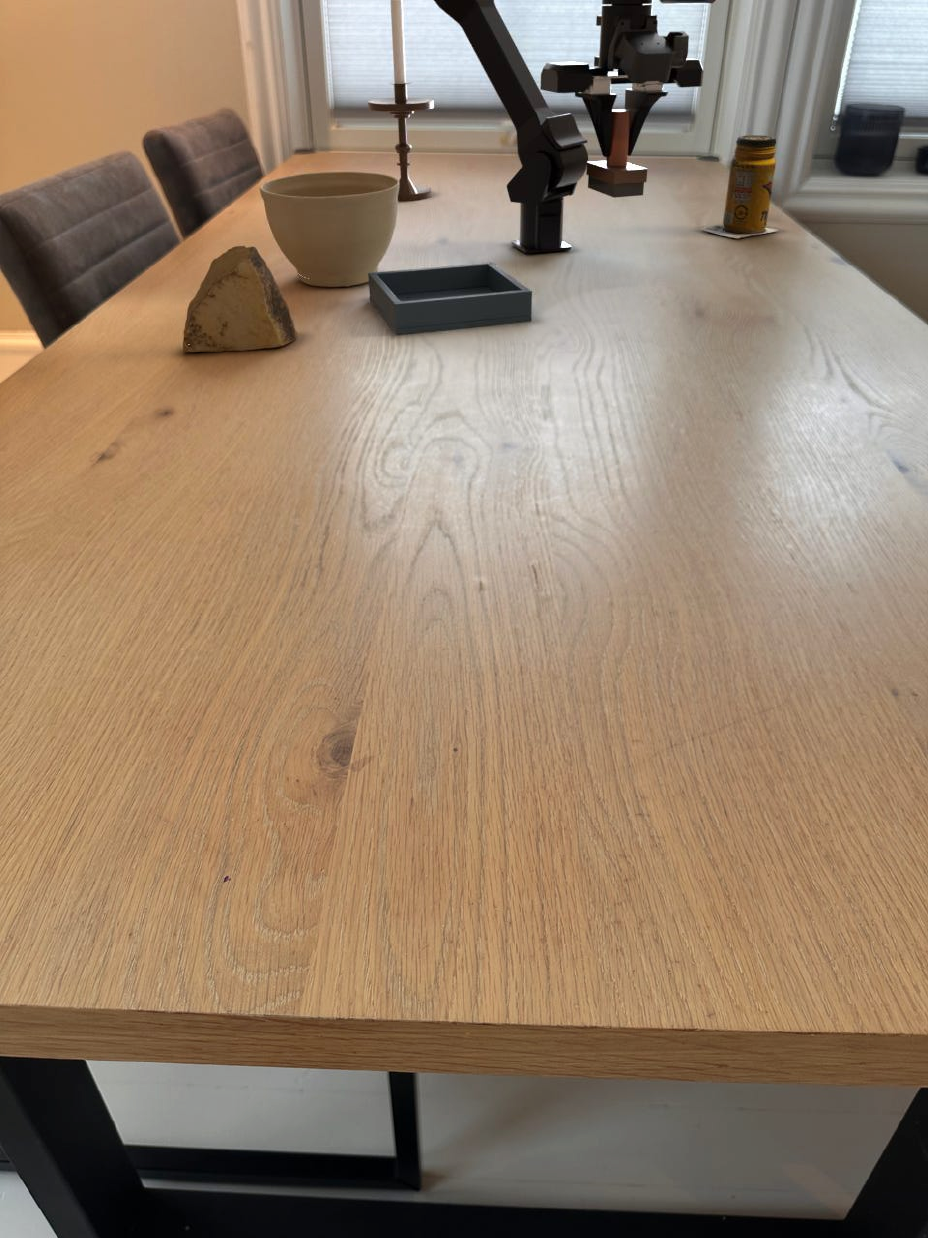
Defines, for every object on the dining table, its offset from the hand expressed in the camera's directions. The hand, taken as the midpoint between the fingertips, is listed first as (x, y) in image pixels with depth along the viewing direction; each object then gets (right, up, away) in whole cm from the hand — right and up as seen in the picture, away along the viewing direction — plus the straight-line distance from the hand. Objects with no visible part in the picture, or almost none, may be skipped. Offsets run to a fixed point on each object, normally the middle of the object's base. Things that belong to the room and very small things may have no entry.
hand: (616, 155), depth 116 cm
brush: (0, -3, +2) cm, 4 cm away
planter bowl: (-34, -15, 0) cm, 38 cm away
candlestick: (-29, +16, +47) cm, 58 cm away
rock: (-41, -30, -22) cm, 55 cm away
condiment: (+20, -2, +19) cm, 28 cm away
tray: (-21, -23, -13) cm, 34 cm away
